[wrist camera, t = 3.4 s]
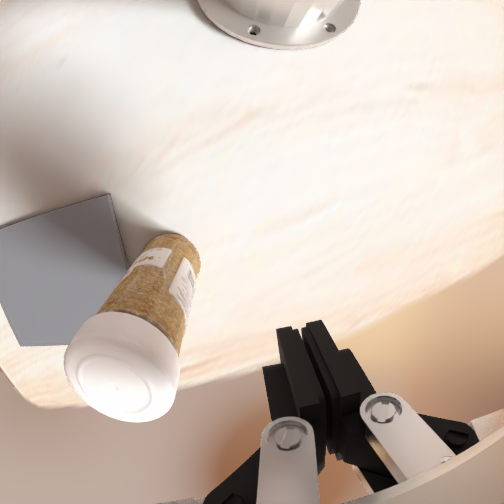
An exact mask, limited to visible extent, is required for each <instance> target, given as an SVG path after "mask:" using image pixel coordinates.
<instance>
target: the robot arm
mask: <svg viewBox="0 0 504 504" xmlns="http://www.w3.org/2000/svg"><path fill="white" fill-rule="evenodd" d="M198 3H199V5H200V7H201V9H202V10H203V12H204V13H205V15H206V16H207V17H208V18H209V19H210V20H211V21H212V22H213V23H214V24H215V25H216V26H217V27H219V28H220V29H222V30H223V31H225V32H226V33H228V34H229V35H231V36H233V37H235V38H238V39H240V40H242V41H244V42H247V43H251V44H254V45H257V46H261V47H266V48H273V49H282V50H298V49H307V48H312V47H316V46H319V45H323V44H326V43H328V42H330V41H332V40H334V39H336V38H337V37H338V36H340V35H341V34H342V33H343V32H345V31H346V30H347V29H348V28H349V27H350V26H351V24H352V23H353V22H354V20H355V18H356V17H357V15H358V12H359V8H360V4H361V3H360V0H198ZM326 30H328V31H329V32H328V31H326ZM251 32H254V33H256V35H251V34H250V33H251ZM276 332H277V339H278V346H279V353H280V360H281V364H276V365H270V366H265V367H262V368H263V374H264V380H265V385H266V391H267V397H268V402H269V408H270V413H271V419H272V422H271V423H270V424H268V425H267V426H266V427H265V429H264V430H263V433H262V436H261V447H260V448H259V449H258V450H257V451H256V452H255V453H254V454H253V455H252V456H251V457H250V458H249V459H248V460H247V461H246V462H244V463H243V464H242V465H241V466H240V467H239V468H238V469H237V470H236V471H235V472H233V473H232V474H231V475H230V476H229V477H228V478H227V479H226V480H224V481H223V482H222V483H221V484H220V485H219V486H217V487H216V488H215V489H214V490H213V491H211V492H210V494H208V495H207V497H205V498H200V499H194V498H188V499H183V500H177V501H171V502H165V503H158V504H320V500H319V485H318V475H319V473H320V472H321V471H322V469H323V468H324V466H325V465H324V464H325V455H326V446H327V449H328V451H329V453H330V454H334V453H335V455H336V458H337V460H341V459H343V461H344V462H346V463H349V464H351V465H352V468H353V470H354V472H355V474H356V475H357V477H358V479H359V480H360V482H361V483H362V485H363V486H364V488H365V490H366V491H367V493H368V496H365V497H362V498H359V499H356V500H352V501H349V502H346V503H342V504H504V409H501V410H498V411H496V412H494V413H491V414H488V415H485V416H482V417H479V418H477V419H474V420H471V421H470V423H469V424H465V423H462V422H457V421H452V420H446V419H442V418H437V417H431V416H427V415H422V414H418V413H416V412H415V411H414V410H413V409H412V408H411V407H410V406H409V405H408V404H407V402H405V400H404V399H403V398H401V397H400V396H399V395H396V394H394V393H388V392H381V393H376V391H375V390H374V388H373V386H372V385H371V383H370V381H369V380H368V378H367V376H366V375H365V373H364V371H363V370H362V368H361V366H360V365H359V363H358V361H357V360H356V358H355V357H354V355H353V353H352V352H351V350H350V349H343V350H340V351H339V350H338V348H337V347H336V345H335V343H334V341H333V340H332V338H331V336H330V334H329V332H328V331H327V329H326V327H325V325H324V324H323V322H322V320H318V321H314V322H309V323H306V327H304V328H302V338H301V336H300V333H299V331H298V329H294V330H292V327H291V326H289V327H284V328H279V329H276Z"/></svg>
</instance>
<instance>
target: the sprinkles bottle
mask: <svg viewBox="0 0 504 504" xmlns="http://www.w3.org/2000/svg"><path fill="white" fill-rule="evenodd" d="M199 271H200V257H199V254H198V252H197V250H196V248H195V247H194V245H193V244H192V243H191V242H190V241H189V240H187V239H186V238H185V237H183V236H180V235H176V234H163V235H159V236H157V237H155V238H154V239H152V240H151V241H150V242H149V243H148V244H147V245H146V247H145V248H144V250H143V253H142V254H141V255H140V256H139V257H138V258H137V259H136V260H135V261H134V263H133V264H132V265H131V267H130V268H129V269H128V271H127V272H126V273H125V274H124V276H123V277H122V278H121V280H120V281H119V282H118V284H117V285H116V286H115V288H114V289H113V290H112V292H111V294H110V296H109V297H108V298H107V300H106V301H105V303H104V304H103V305H102V307H101V308H100V310H99V311H98V312H97V313H96V315H94V316H92V317H91V318H89V319H87V320H86V321H85V322H84V323H83V325H82V326H81V327H80V329H79V330H78V331H77V333H76V334H75V336H74V337H73V339H72V340H71V342H70V344H69V345H68V347H67V349H66V351H65V355H64V369H65V373H66V376H67V378H68V381H69V383H70V384H71V386H72V388H73V389H74V390H75V392H76V393H77V394H78V395H79V396H80V397H81V398H82V399H83V400H84V401H85V402H86V403H87V404H88V405H90V406H91V407H93V408H94V409H96V410H97V411H99V412H101V413H103V414H105V415H107V416H109V417H112V418H115V419H118V420H122V421H127V422H146V421H151V420H154V419H157V418H159V417H160V416H162V415H164V414H165V413H166V412H167V411H168V410H169V409H170V407H171V406H172V403H173V402H174V398H175V394H176V390H177V385H178V380H179V375H180V361H179V353H180V347H181V343H182V338H183V336H184V334H185V331H186V326H187V321H188V317H189V312H190V308H191V303H192V299H193V294H194V290H195V285H196V278H197V277H198V274H199Z"/></svg>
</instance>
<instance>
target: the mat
mask: <svg viewBox="0 0 504 504" xmlns="http://www.w3.org/2000/svg"><path fill="white" fill-rule="evenodd" d="M128 269H129V266H128V262H127V259H126V255H125V252H124V248H123V244H122V241H121V237H120V233H119V229H118V225H117V221H116V217H115V213H114V208H113V204H112V199H111V195H110V194H107V195H104V196H100V197H96V198H93V199H89V200H86V201H82V202H79V203H76V204H72V205H69V206H66V207H62V208H59V209H56V210H53V211H50V212H47V213H44V214H41V215H38V216H35V217H32V218H29V219H26V220H23V221H20V222H18V223H15V224H12V225H9V226H7V227H4V228H1V229H0V303H1V306H2V308H3V310H4V313H5V315H6V317H7V320H8V322H9V324H10V326H11V328H12V330H13V332H14V334H15V336H16V338H17V340H18V342H19V344H20V346H52V345H69V344H70V342H71V340H72V339H73V337H74V336H75V334H76V333H77V331H78V330H79V329H80V327H81V326H82V325H83V323H84V322H85V321H86V320H87V319H89V318H91V317H92V316H94V315H96V313H97V312H98V311H99V310H100V308H101V307H102V305H103V304H104V303H105V301H106V300H107V298H108V297H109V296H110V294H111V292H112V290H113V289H114V288H115V286H116V285H117V284H118V282H119V281H120V280H121V278H122V277H123V276H124V274H125V273H126V272H127V271H128Z"/></svg>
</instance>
